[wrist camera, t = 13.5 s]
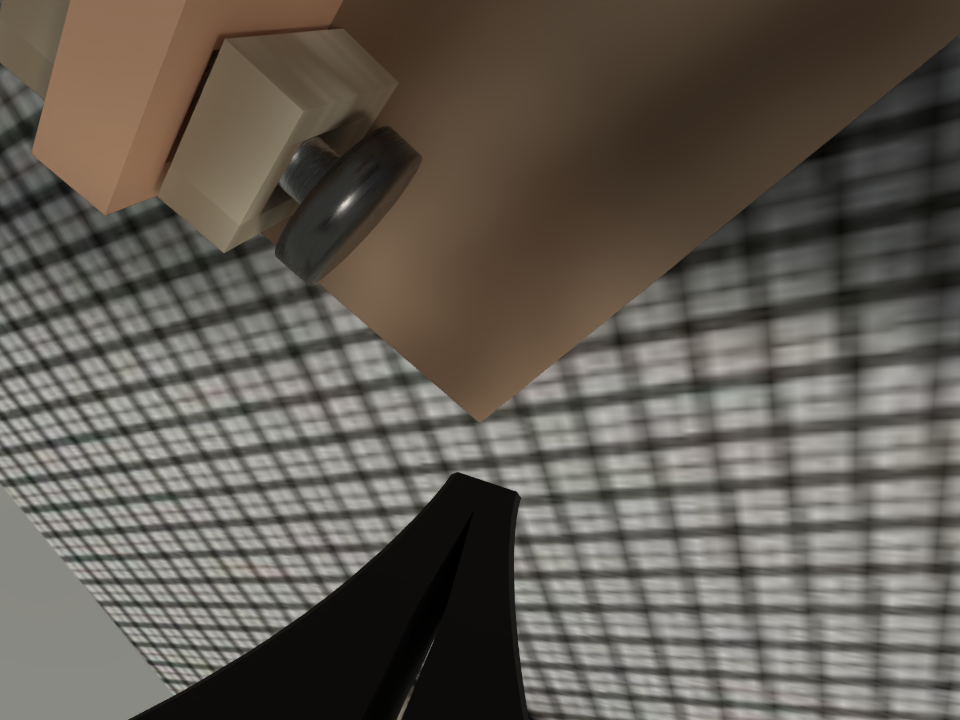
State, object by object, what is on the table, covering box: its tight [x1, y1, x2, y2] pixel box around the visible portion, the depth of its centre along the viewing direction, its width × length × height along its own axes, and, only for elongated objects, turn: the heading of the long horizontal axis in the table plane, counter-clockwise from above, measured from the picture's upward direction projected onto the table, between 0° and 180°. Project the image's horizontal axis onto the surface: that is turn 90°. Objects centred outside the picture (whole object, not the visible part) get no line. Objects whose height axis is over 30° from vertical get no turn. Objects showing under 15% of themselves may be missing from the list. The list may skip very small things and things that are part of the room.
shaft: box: [190, 49, 422, 285], centre depth 14 cm, size 8×4×4 cm, turn 50°
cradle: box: [0, 0, 960, 423], centre depth 13 cm, size 18×18×6 cm
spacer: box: [31, 0, 343, 215], centre depth 14 cm, size 2×6×6 cm, turn 140°
